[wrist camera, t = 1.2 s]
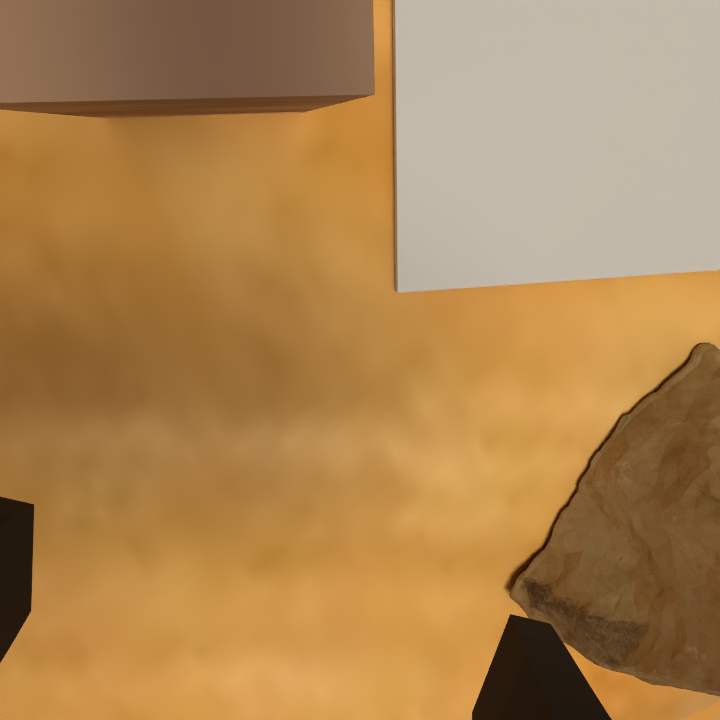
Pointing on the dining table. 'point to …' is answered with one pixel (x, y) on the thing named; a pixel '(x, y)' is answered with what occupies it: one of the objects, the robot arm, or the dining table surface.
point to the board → (554, 140)
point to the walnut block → (184, 56)
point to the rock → (644, 542)
